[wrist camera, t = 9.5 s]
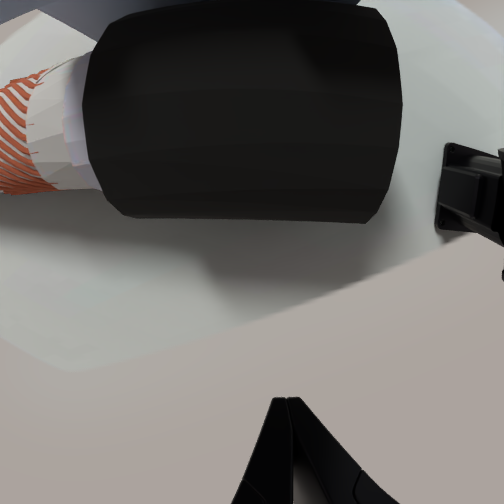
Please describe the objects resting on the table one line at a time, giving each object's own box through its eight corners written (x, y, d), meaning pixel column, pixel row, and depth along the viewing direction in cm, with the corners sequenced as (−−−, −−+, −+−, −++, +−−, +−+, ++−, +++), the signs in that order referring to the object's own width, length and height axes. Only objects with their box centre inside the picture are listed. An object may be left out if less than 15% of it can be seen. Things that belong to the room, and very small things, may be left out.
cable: (-24, 138, 20) (-86, 100, 10) (334, 90, 18) (364, -32, 8) (-47, 234, 19) (-121, 213, 9) (342, 241, 17) (425, 176, 7)
